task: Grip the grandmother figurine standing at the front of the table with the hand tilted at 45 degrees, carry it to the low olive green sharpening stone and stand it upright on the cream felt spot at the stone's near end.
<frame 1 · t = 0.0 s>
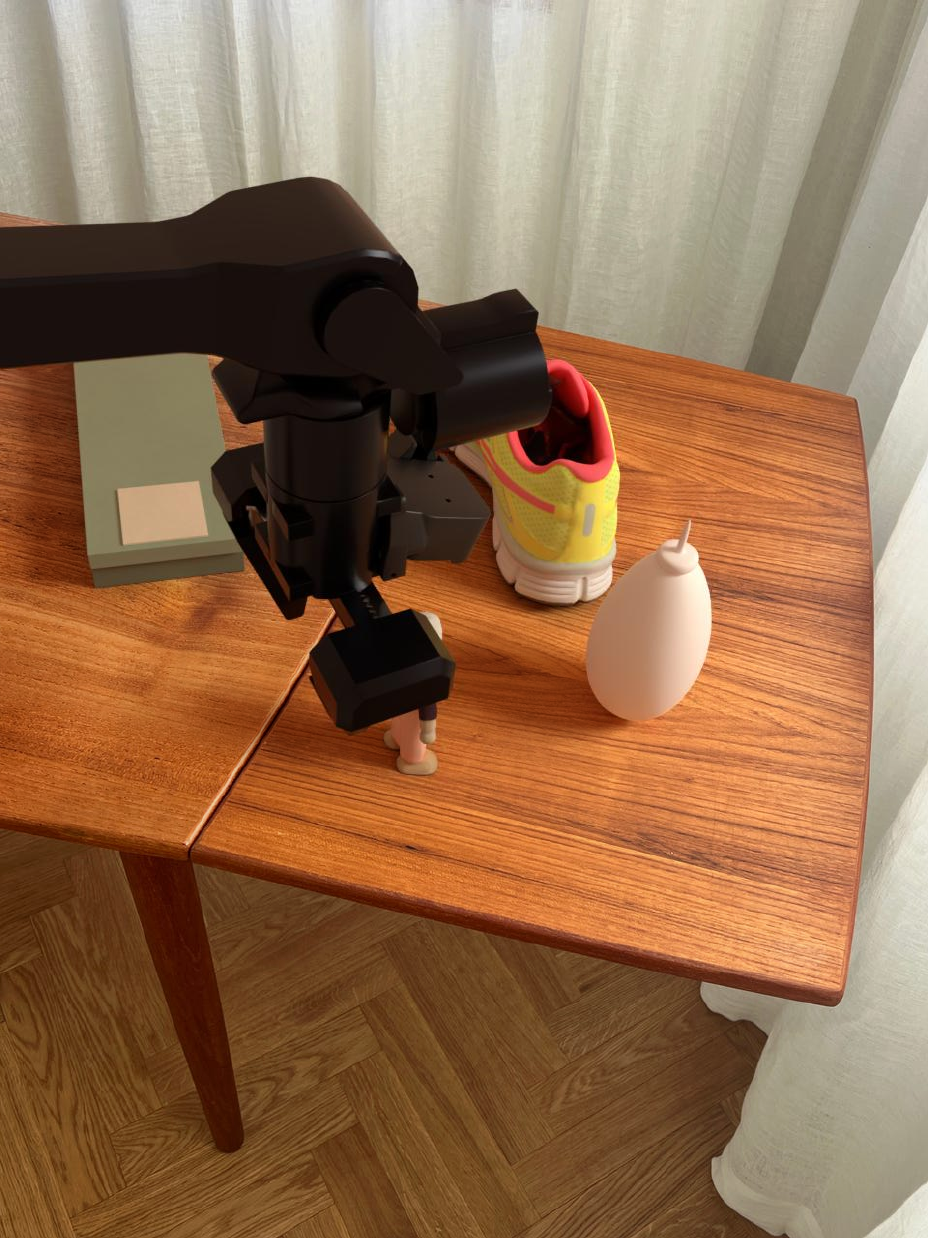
hand: (324, 672, 64), 12 cm above the table, tool pointing down, fingers open, 9 cm apart
olive green sharpening stone: (153, 447, 93), on the table
running shoe: (513, 484, 95), on the table
grandmother figurine: (407, 745, 76), on the table
white bulb air blower: (626, 705, 80), on the table
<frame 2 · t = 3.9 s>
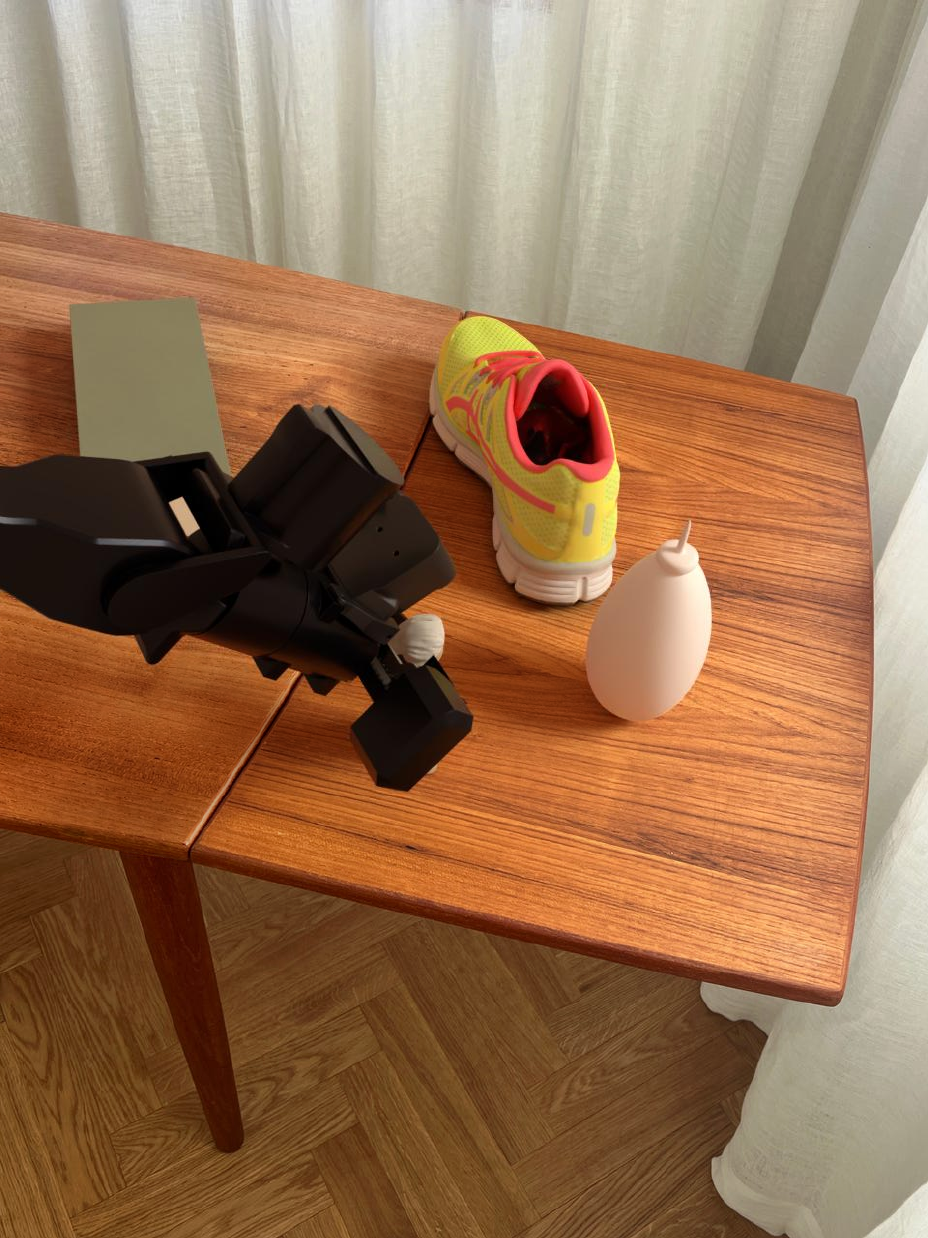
hand: (435, 669, 71), 7 cm above the table, tool tilted 45°, fingers closed on grandmother figurine, 6 cm apart
grandmother figurine: (408, 744, 76), on the table, touching gripper
everything else where it was.
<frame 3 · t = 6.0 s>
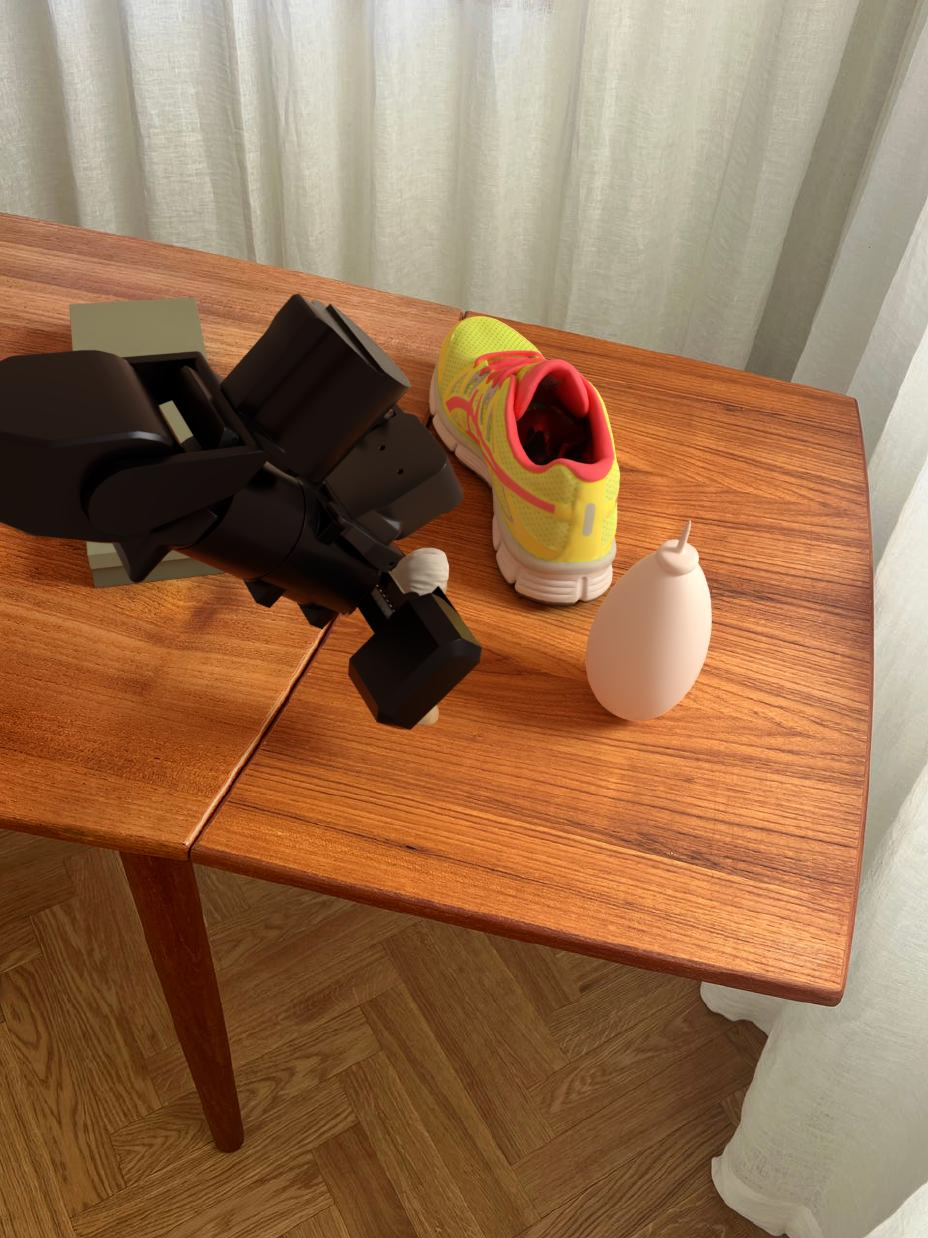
hand: (437, 610, 67), 13 cm above the table, tool tilted 45°, fingers closed on grandmother figurine, 6 cm apart
grandmother figurine: (407, 694, 71), point 5 cm above the table, touching gripper
everything else where it was.
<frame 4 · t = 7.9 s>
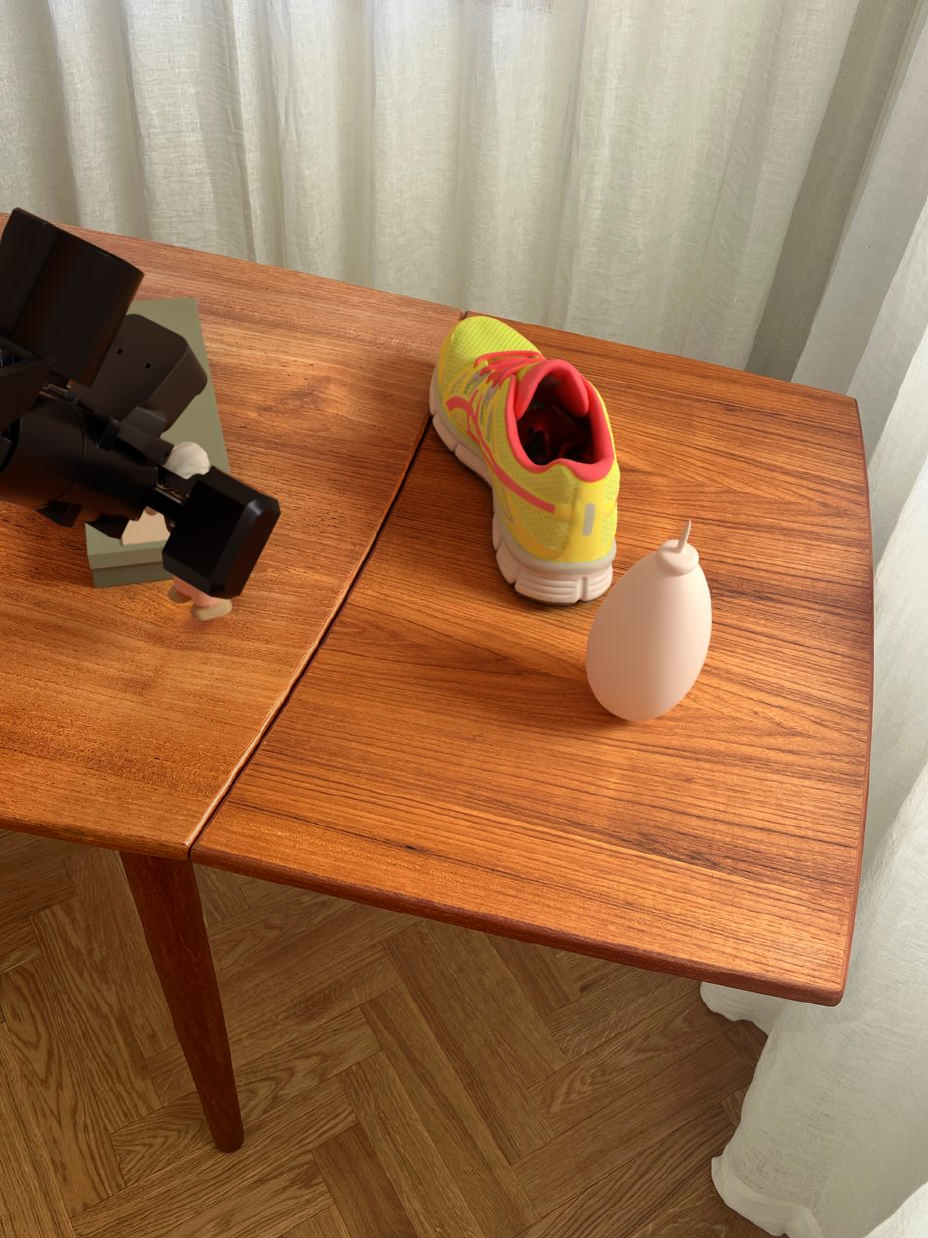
hand: (201, 503, 70), 13 cm above the table, tool tilted 45°, fingers closed on grandmother figurine, 6 cm apart
grandmother figurine: (194, 597, 75), point 6 cm above the table, touching gripper
everything else where it was.
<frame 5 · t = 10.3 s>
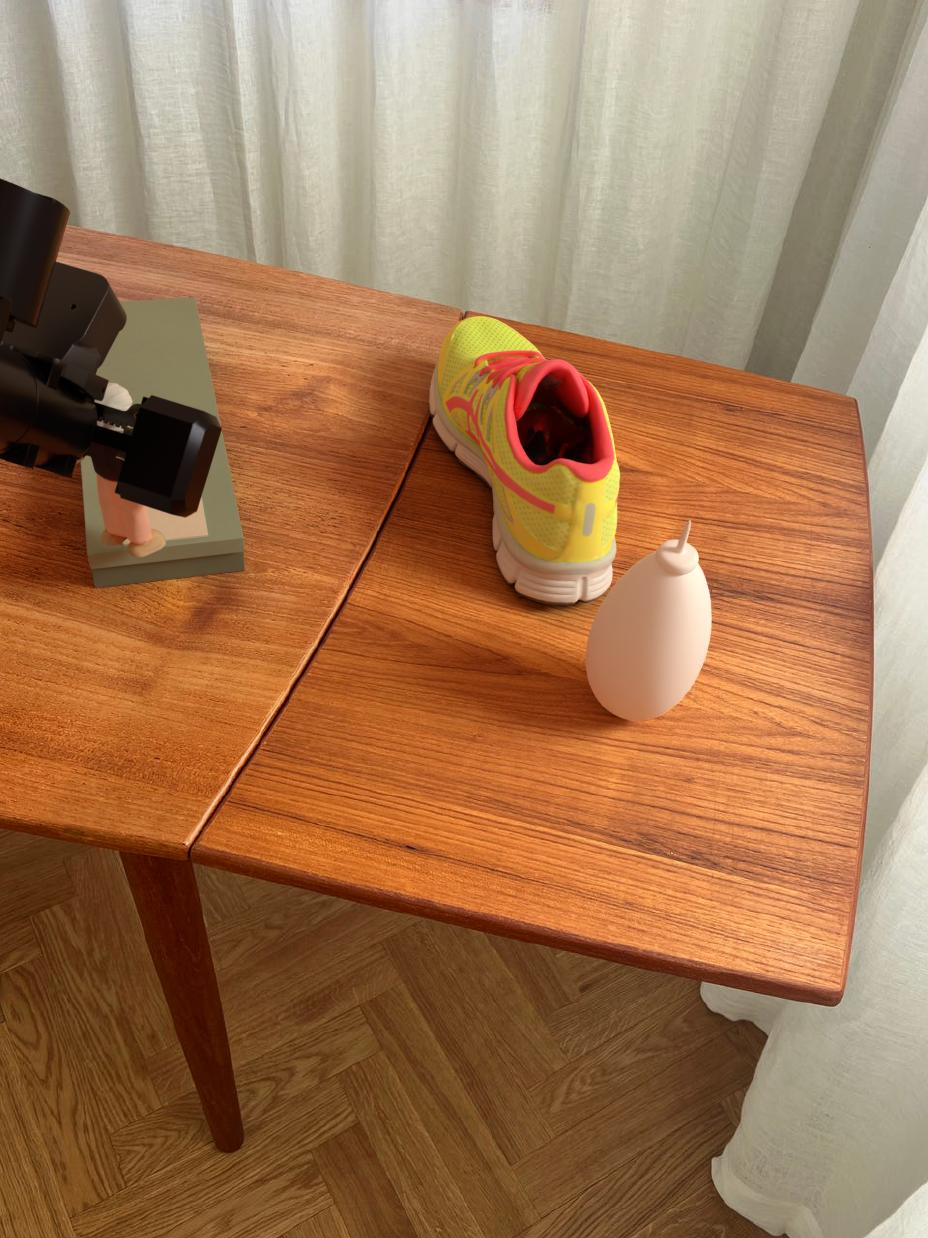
hand: (124, 444, 74), 13 cm above the table, tool tilted 45°, fingers closed on grandmother figurine, 6 cm apart
grandmother figurine: (126, 538, 78), point 6 cm above the table, touching gripper
everything else where it was.
when the fingers open (11 cm above the table, at t = 12.2 s): grandmother figurine stays where it is, resting on olive green sharpening stone.
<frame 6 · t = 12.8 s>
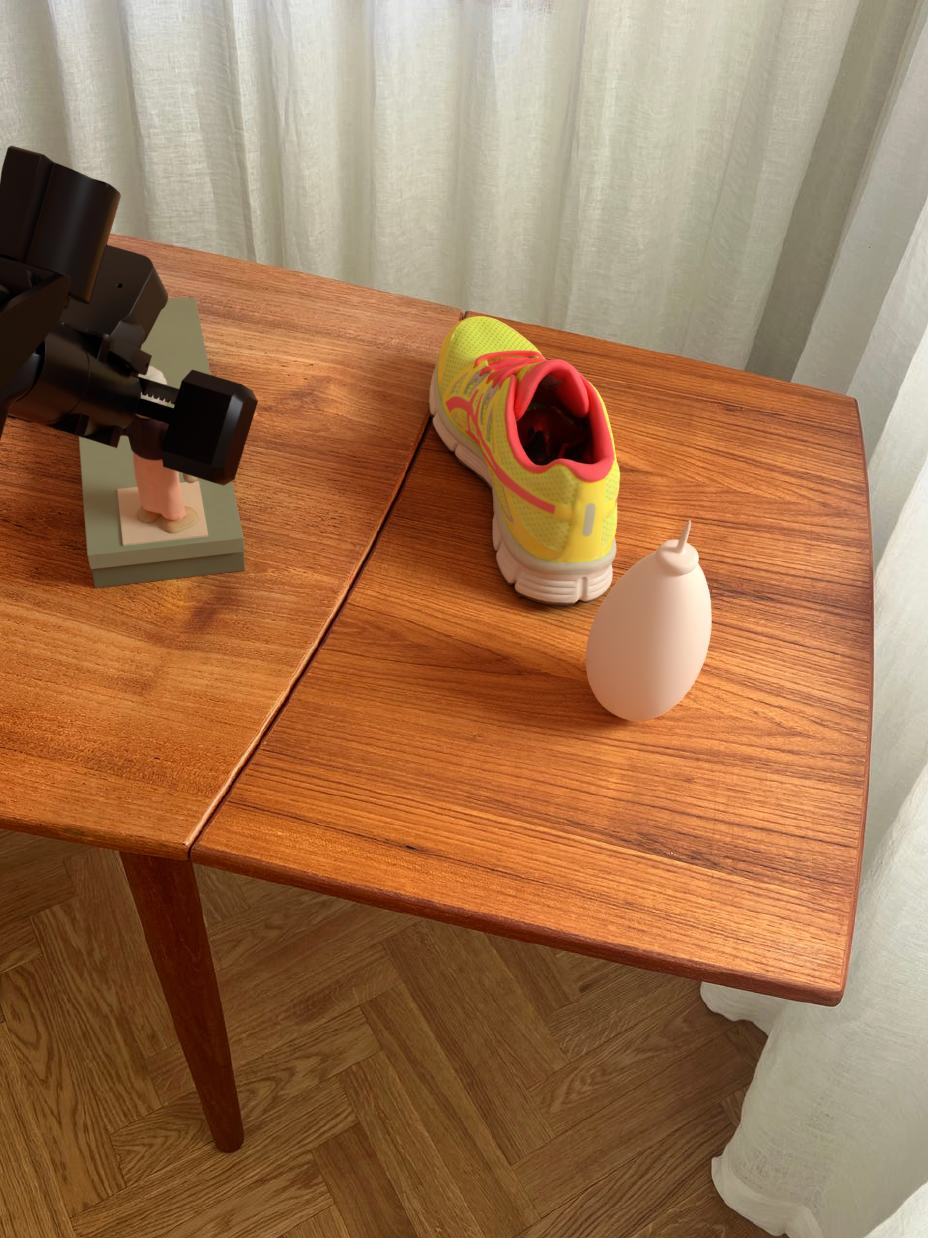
hand: (161, 418, 77), 12 cm above the table, tool tilted 45°, fingers open, 9 cm apart
grandmother figurine: (161, 515, 82), point 4 cm above the table, touching olive green sharpening stone
everything else where it was.
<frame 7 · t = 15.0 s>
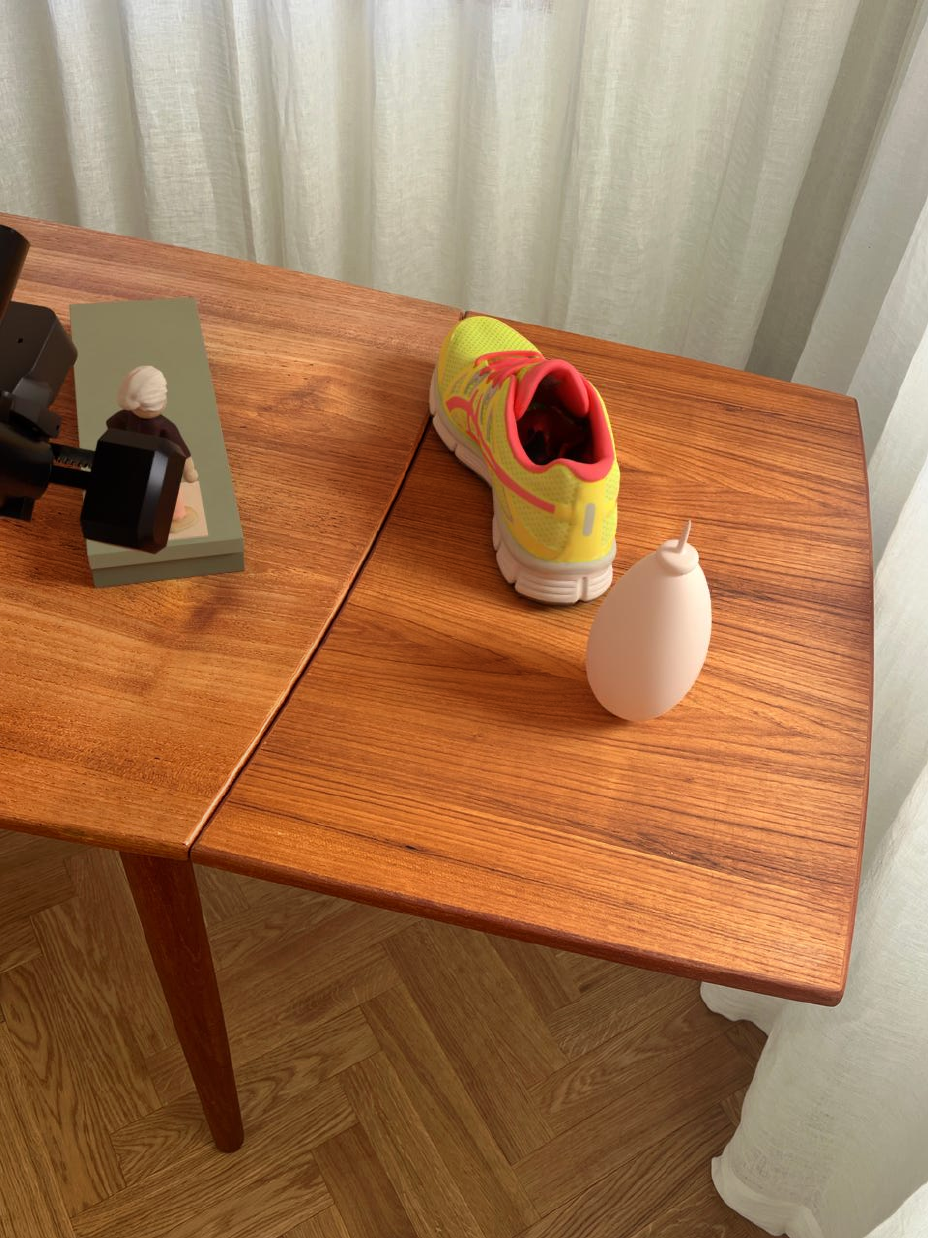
hand: (85, 495, 70), 13 cm above the table, tool tilted 40°, fingers open, 9 cm apart
nothing on the table moved.
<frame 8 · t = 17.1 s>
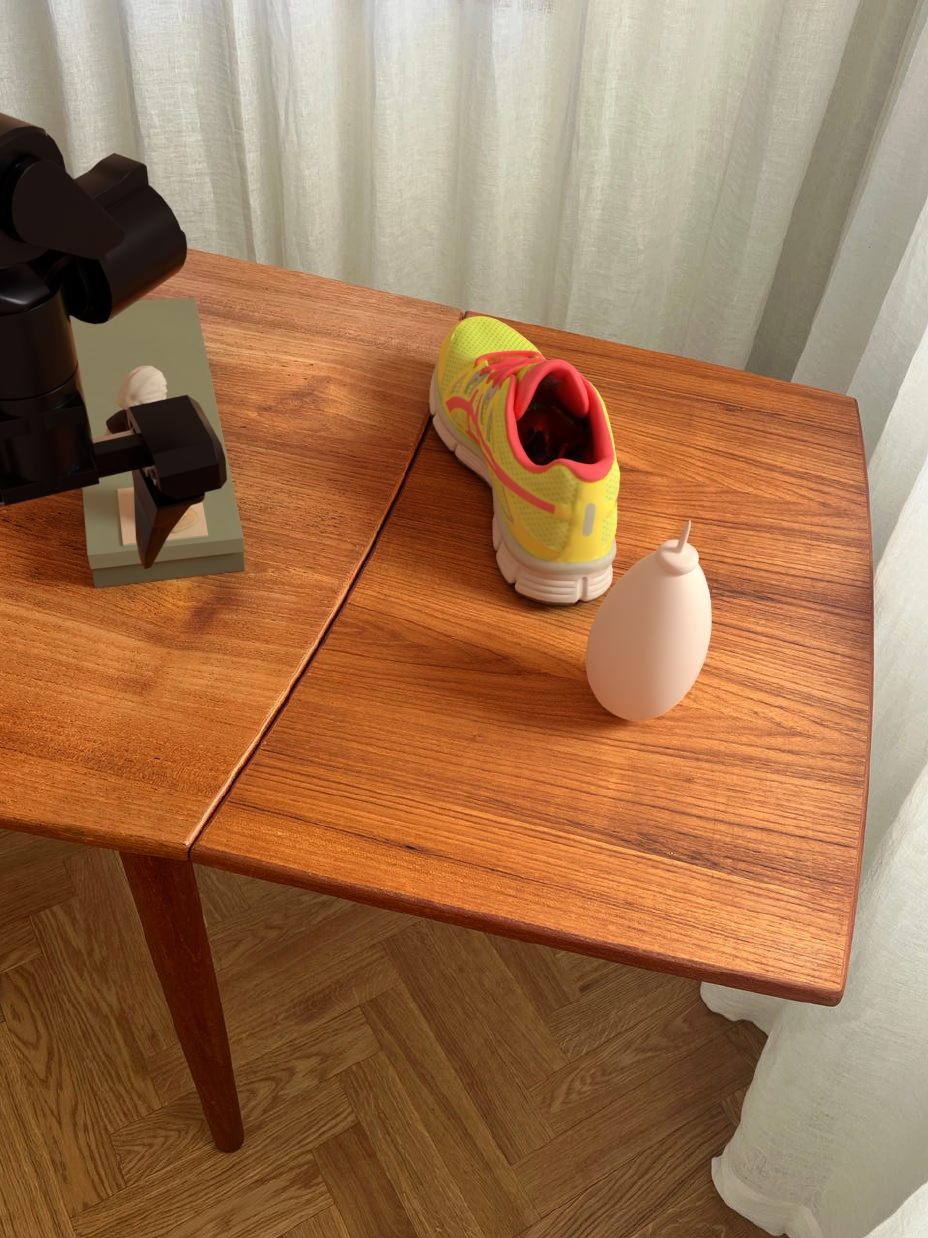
hand: (68, 584, 66), 12 cm above the table, tool pointing down, fingers open, 9 cm apart
nothing on the table moved.
at the end: grandmother figurine 0.2 cm from the target spot on the olive green sharpening stone, point 4.0 cm above the olive green sharpening stone's base; grandmother figurine tilted 0°; the gripper is holding nothing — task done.
